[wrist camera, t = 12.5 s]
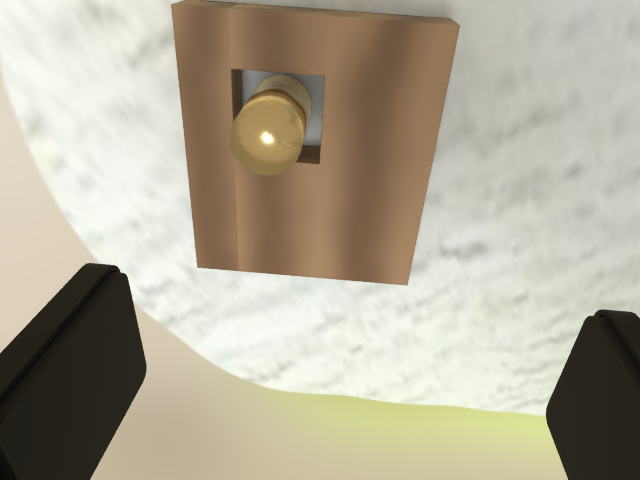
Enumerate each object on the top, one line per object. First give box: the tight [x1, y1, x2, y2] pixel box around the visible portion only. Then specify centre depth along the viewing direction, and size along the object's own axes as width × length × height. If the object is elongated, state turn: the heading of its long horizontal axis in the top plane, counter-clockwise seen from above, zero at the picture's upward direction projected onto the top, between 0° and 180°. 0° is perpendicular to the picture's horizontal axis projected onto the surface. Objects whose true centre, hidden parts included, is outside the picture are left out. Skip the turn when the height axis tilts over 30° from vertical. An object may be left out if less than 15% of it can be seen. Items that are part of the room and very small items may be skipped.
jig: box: [171, 0, 460, 285], centre depth 32 cm, size 16×18×3 cm
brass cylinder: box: [229, 75, 311, 175], centre depth 28 cm, size 4×4×7 cm
